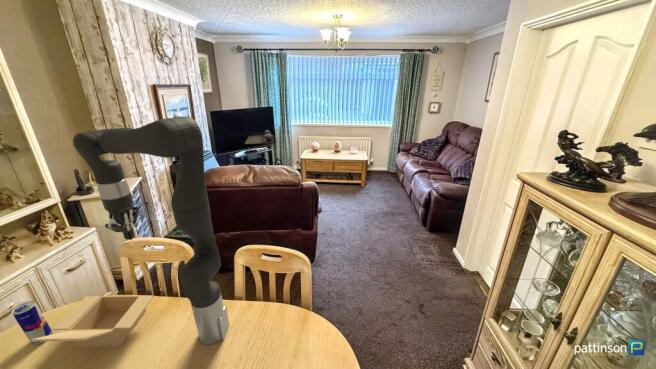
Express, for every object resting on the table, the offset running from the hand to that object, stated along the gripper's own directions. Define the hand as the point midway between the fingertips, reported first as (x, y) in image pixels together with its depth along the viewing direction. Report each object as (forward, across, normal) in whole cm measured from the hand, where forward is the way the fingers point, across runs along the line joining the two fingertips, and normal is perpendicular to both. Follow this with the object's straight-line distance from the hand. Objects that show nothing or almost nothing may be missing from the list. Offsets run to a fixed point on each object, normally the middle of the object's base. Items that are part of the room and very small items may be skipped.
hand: (130, 238), depth 87 cm
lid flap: (+20, -21, +8) cm, 30 cm away
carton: (+32, -10, +8) cm, 34 cm away
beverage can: (+32, -13, +29) cm, 45 cm away
